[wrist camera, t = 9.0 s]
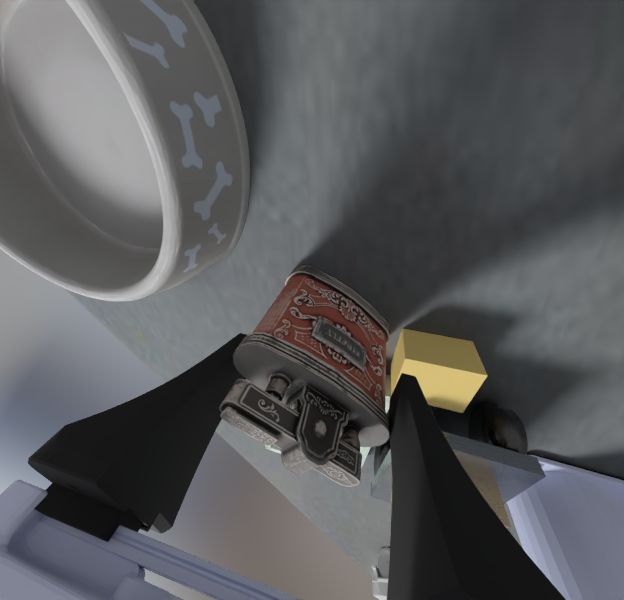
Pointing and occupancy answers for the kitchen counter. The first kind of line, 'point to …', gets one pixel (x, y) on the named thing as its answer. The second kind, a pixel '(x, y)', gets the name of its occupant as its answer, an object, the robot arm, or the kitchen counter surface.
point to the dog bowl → (118, 145)
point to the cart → (480, 458)
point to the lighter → (314, 377)
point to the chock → (439, 368)
